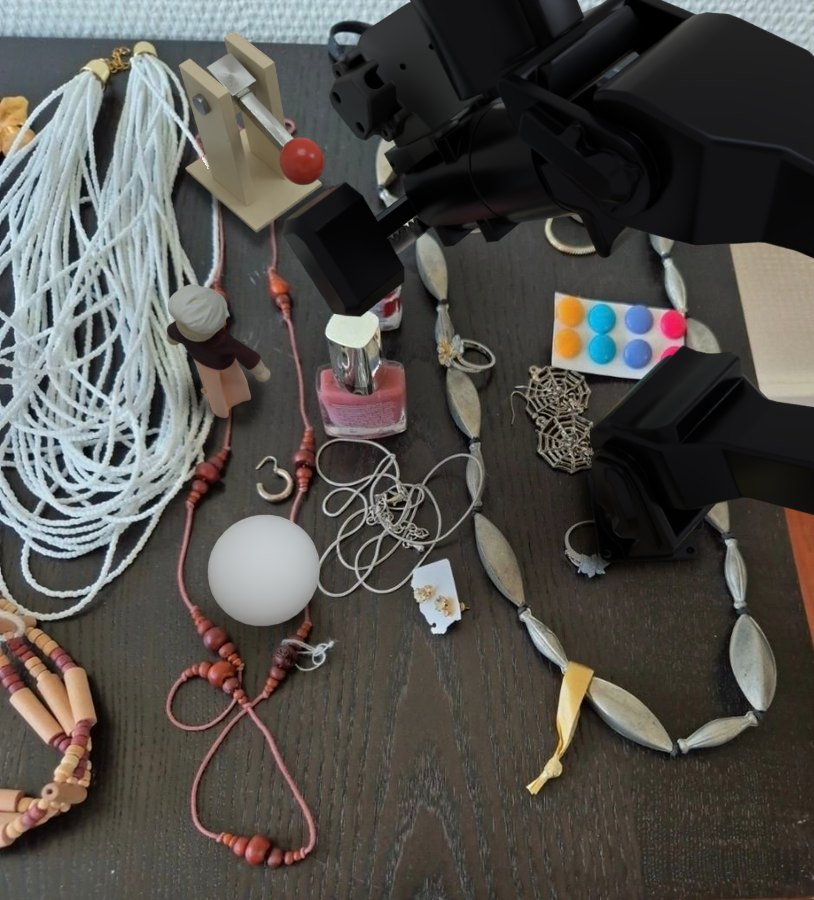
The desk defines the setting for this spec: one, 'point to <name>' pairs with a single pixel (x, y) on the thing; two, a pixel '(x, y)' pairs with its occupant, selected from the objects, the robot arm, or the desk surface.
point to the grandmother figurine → (213, 347)
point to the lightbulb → (263, 570)
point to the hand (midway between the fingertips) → (371, 197)
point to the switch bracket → (241, 141)
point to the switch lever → (269, 122)
